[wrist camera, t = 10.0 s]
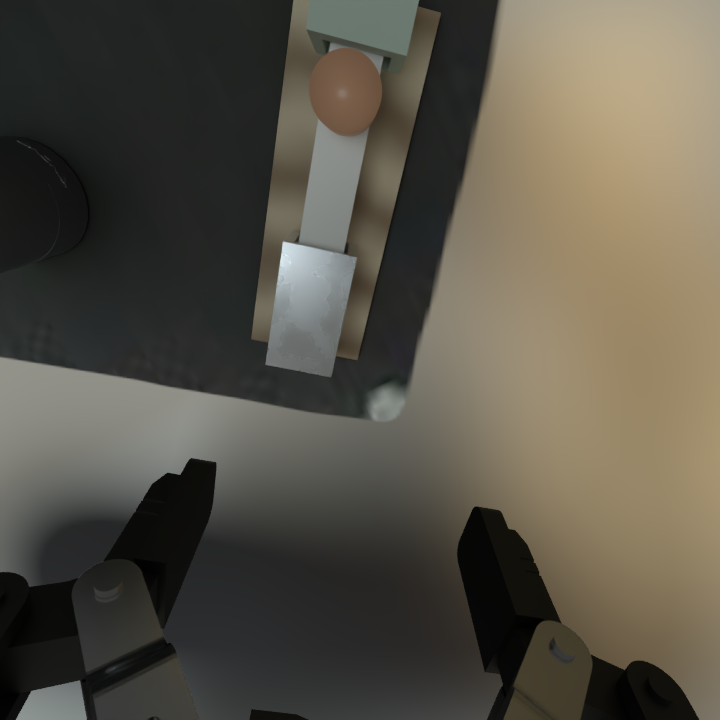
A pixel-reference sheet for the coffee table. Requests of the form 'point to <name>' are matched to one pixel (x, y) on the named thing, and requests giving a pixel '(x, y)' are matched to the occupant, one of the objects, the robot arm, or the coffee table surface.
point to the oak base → (375, 176)
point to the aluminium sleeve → (309, 306)
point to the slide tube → (339, 140)
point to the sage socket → (364, 27)
